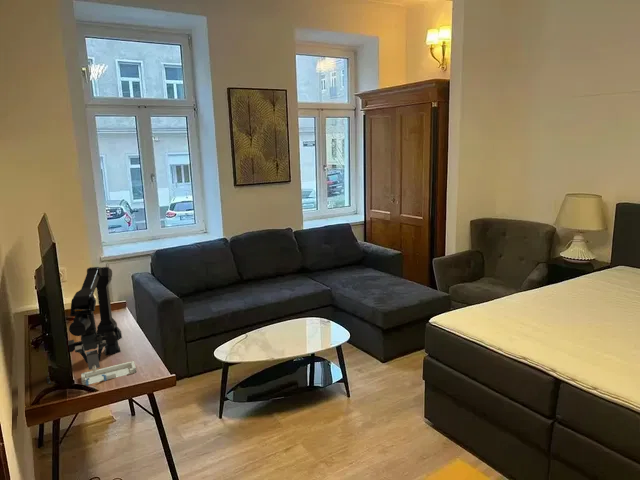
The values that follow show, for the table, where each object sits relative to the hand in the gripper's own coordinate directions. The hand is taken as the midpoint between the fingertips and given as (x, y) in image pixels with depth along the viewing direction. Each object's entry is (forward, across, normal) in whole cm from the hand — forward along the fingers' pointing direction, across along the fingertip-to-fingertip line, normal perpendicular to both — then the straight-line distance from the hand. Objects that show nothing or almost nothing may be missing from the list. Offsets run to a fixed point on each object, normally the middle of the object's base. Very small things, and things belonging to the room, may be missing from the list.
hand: (93, 361), depth 185 cm
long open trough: (+8, +5, 0) cm, 9 cm away
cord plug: (+2, 0, -3) cm, 4 cm away
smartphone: (+8, -10, +10) cm, 16 cm away
